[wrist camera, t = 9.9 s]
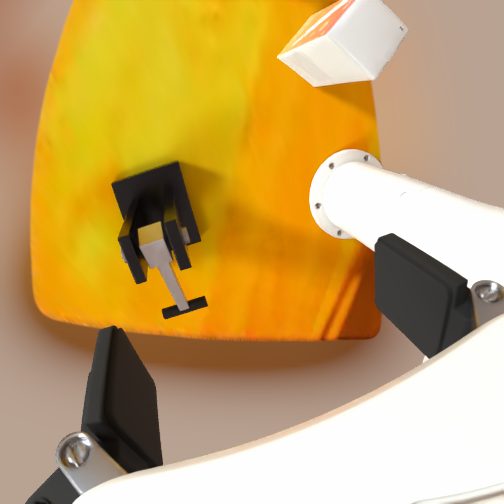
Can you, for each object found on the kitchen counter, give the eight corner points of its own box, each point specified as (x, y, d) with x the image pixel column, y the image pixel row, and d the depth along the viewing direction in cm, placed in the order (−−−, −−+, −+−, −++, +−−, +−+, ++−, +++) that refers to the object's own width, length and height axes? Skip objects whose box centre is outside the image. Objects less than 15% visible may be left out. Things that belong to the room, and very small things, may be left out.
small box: (309, 15, 31) (367, -16, 19) (345, 46, 33) (411, 30, 22) (274, 57, 32) (326, 33, 21) (313, 89, 35) (376, 82, 23)
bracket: (200, 237, 39) (217, 289, 28) (139, 257, 38) (133, 315, 26) (177, 160, 34) (184, 179, 23) (112, 181, 33) (88, 212, 22)
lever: (204, 295, 35) (210, 312, 34) (163, 308, 35) (167, 325, 33) (176, 215, 26) (180, 233, 25) (122, 233, 26) (123, 252, 24)
